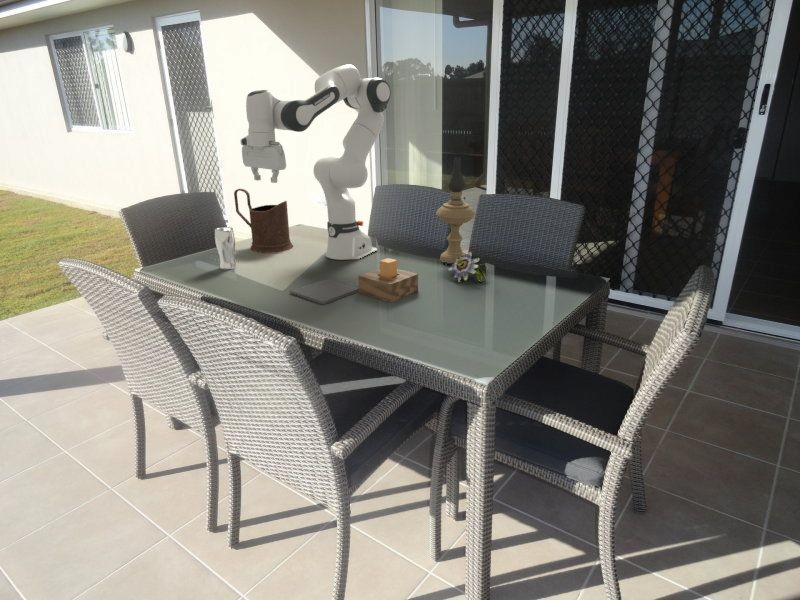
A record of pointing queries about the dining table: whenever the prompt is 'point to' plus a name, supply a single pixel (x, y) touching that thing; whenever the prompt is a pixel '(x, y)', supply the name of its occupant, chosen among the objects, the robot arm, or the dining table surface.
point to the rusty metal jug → (267, 226)
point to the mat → (324, 291)
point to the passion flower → (467, 267)
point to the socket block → (388, 285)
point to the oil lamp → (455, 214)
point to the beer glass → (225, 247)
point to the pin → (388, 268)
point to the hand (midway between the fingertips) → (265, 181)
